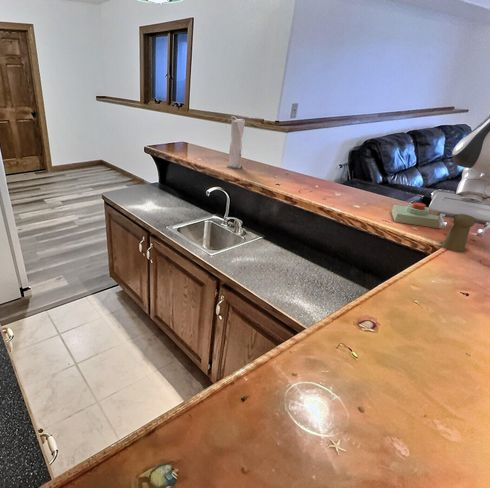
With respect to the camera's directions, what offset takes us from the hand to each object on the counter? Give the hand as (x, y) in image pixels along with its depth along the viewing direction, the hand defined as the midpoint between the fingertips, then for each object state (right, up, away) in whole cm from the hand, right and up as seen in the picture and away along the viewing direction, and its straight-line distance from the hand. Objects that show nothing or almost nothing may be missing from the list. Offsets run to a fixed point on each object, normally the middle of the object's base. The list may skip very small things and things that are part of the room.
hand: (460, 231), depth 110 cm
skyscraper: (-53, +42, +95) cm, 117 cm away
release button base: (+2, +5, +24) cm, 25 cm away
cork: (0, -5, +3) cm, 6 cm away
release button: (+2, +10, +22) cm, 24 cm away
